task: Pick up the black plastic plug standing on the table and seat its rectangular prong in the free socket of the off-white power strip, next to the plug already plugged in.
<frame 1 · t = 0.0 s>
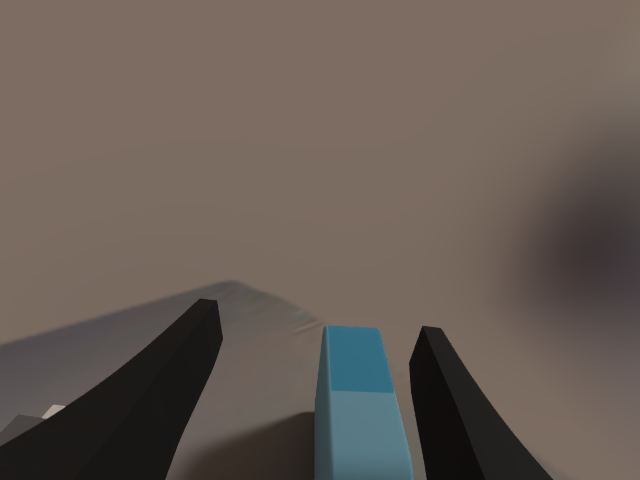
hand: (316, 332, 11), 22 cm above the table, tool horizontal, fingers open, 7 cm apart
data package: (340, 476, 27), on the table
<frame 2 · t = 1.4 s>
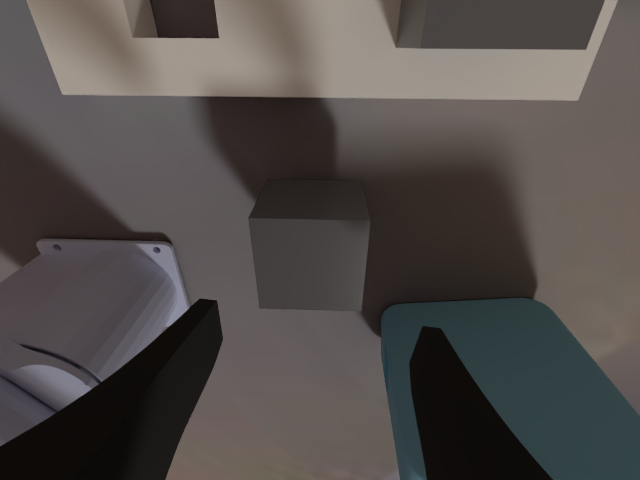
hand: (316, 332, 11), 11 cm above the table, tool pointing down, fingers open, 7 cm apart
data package: (454, 318, 25), on the table
plug: (316, 203, 20), on the table
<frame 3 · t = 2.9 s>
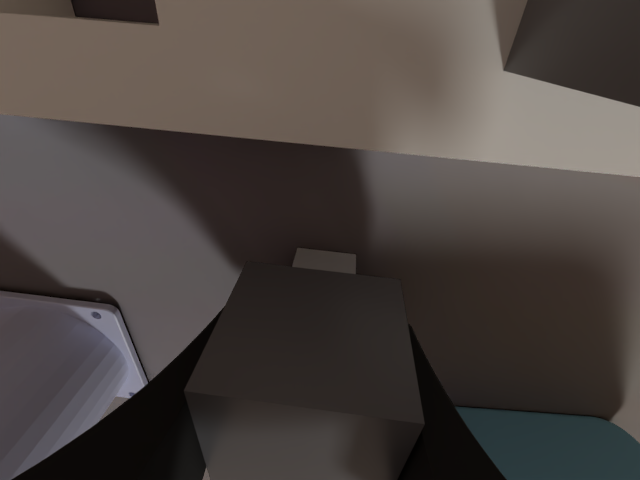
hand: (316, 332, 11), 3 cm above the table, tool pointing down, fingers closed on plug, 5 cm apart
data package: (494, 425, 19), on the table
plug: (323, 279, 14), on the table, touching gripper
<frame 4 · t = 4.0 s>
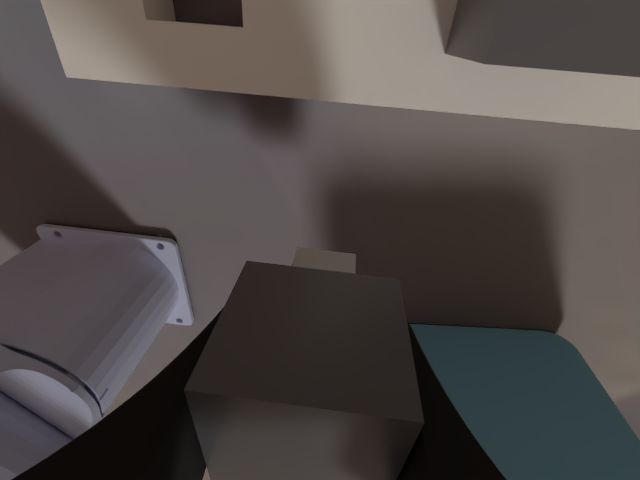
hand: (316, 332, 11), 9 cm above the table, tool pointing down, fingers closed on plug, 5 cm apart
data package: (467, 344, 24), on the table
plug: (323, 278, 14), point 6 cm above the table, touching gripper
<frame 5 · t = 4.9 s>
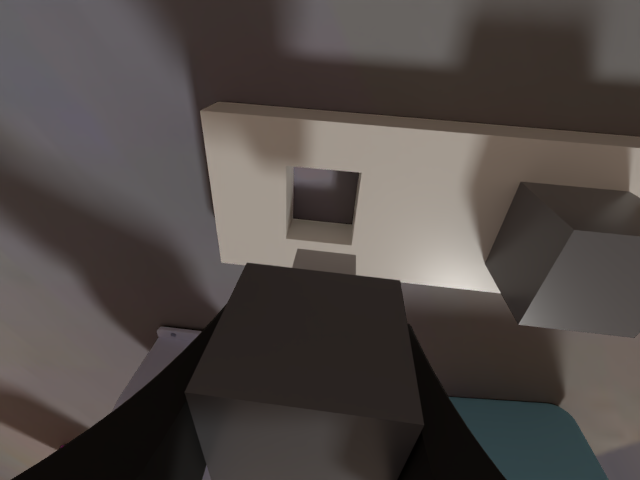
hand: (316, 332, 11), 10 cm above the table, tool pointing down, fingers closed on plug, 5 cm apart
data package: (488, 409, 30), on the table
power strip: (425, 199, 19), on the table
plug: (323, 279, 14), point 7 cm above the table, touching gripper
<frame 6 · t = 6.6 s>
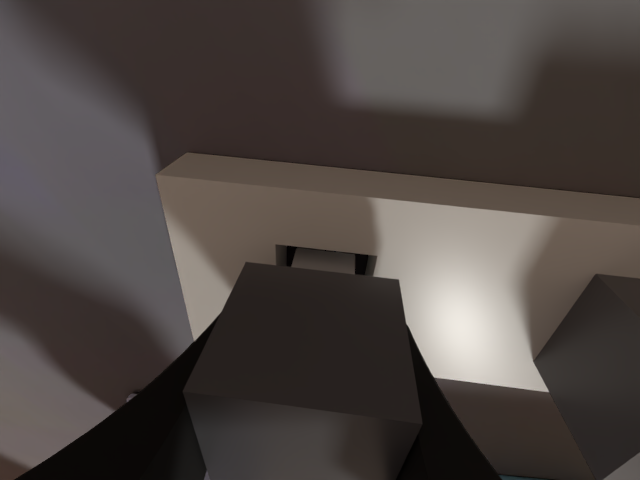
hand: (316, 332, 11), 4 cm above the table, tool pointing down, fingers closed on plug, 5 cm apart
power strip: (455, 273, 15), on the table
plug: (323, 279, 14), point 1 cm above the table, touching gripper
when the fingers open (4 cm above the table, at t = 6.9 s): plug drops 1 cm, resting in power strip.
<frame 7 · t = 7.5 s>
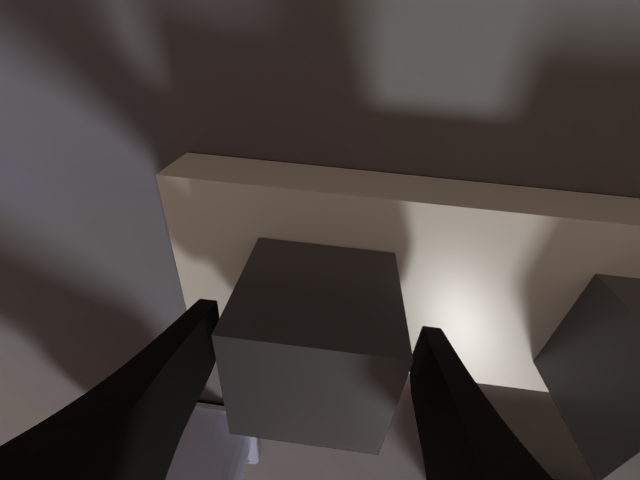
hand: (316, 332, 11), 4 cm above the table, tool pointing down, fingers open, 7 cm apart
power strip: (455, 273, 15), on the table
plug: (326, 259, 15), resting in power strip
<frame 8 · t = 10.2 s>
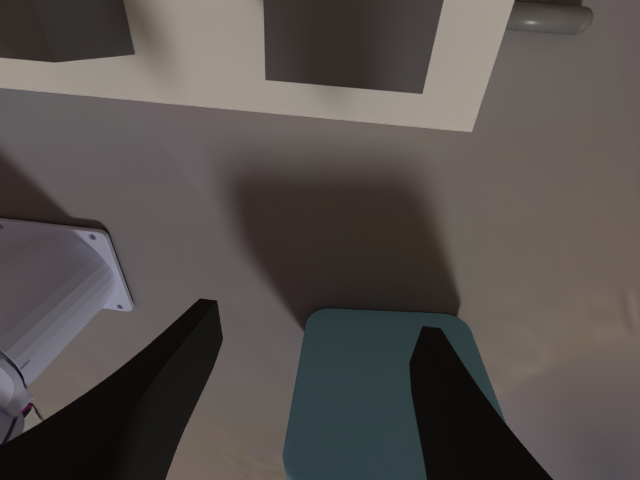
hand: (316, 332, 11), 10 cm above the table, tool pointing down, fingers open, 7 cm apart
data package: (382, 327, 26), on the table
candy bar box: (0, 405, 41), on the table
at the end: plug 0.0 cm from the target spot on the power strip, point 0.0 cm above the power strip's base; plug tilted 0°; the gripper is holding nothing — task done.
